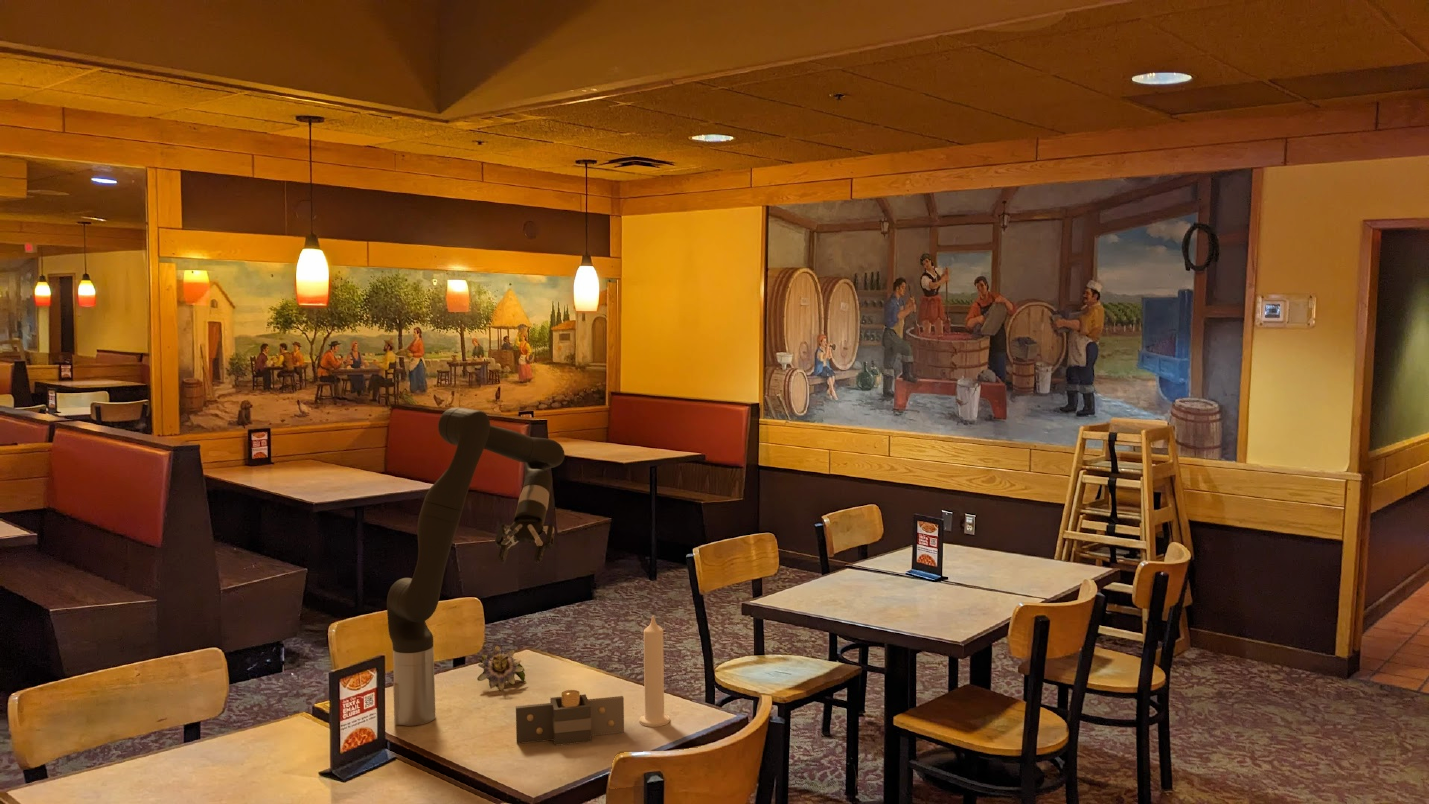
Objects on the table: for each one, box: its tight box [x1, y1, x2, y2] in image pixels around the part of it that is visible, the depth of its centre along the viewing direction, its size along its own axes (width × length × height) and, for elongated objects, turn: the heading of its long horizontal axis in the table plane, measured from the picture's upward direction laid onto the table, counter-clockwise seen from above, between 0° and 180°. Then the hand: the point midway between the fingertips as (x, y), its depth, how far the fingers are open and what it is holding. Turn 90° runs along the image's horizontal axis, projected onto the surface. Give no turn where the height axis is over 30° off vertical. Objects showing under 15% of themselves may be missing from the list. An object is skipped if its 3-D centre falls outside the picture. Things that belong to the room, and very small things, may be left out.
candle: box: [638, 615, 671, 728], centre depth 248 cm, size 7×7×25 cm
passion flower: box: [477, 645, 526, 692], centre depth 275 cm, size 11×11×12 cm
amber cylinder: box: [561, 689, 581, 708], centre depth 240 cm, size 4×4×10 cm
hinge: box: [515, 693, 625, 746], centre depth 240 cm, size 24×8×8 cm, turn 105°
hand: (519, 561), depth 262 cm, fingers open, 8 cm apart
